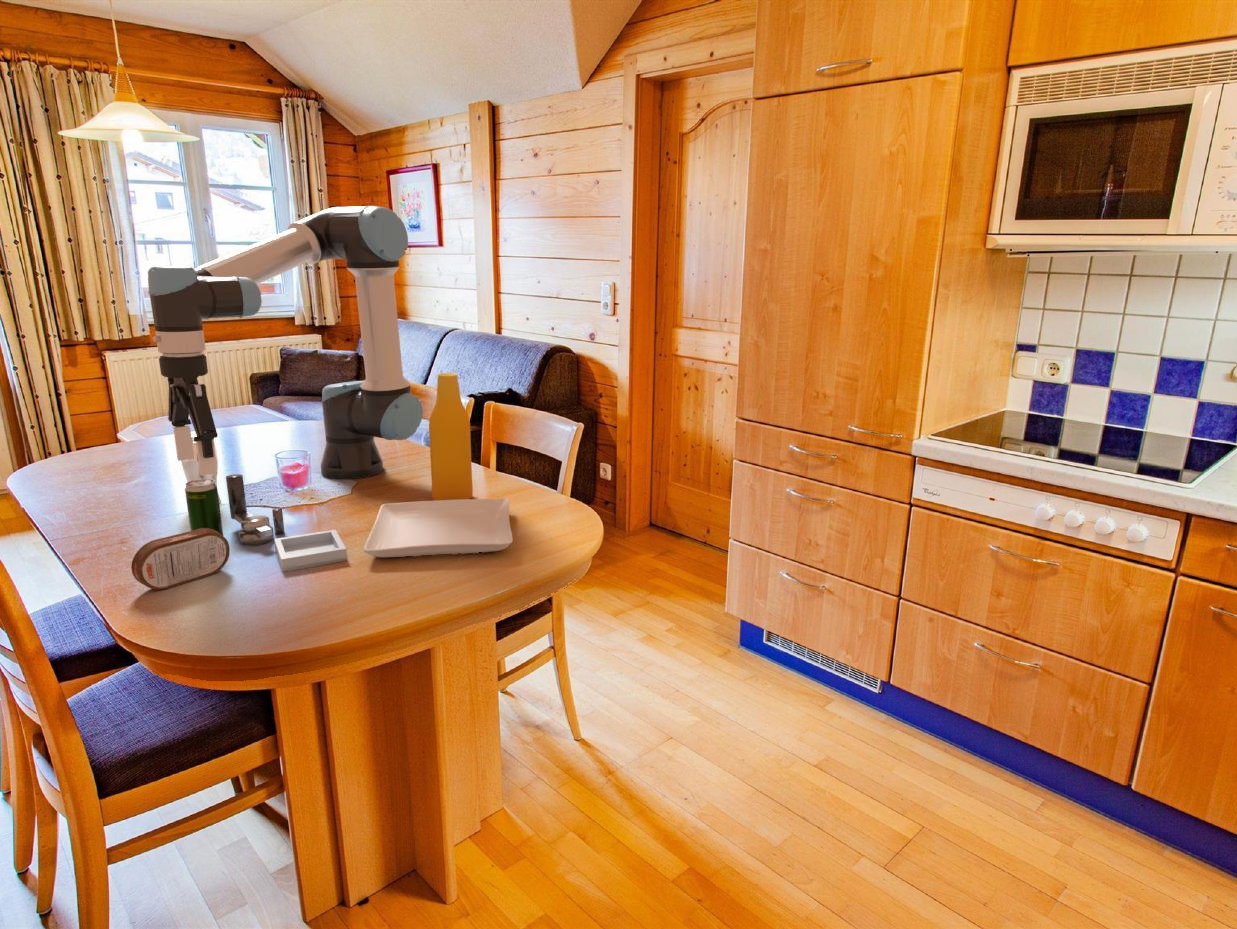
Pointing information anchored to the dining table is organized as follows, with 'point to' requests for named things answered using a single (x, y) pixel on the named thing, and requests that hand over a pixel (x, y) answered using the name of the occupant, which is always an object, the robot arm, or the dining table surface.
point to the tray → (310, 550)
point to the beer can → (203, 505)
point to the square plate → (440, 528)
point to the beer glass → (197, 467)
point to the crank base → (255, 539)
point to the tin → (180, 558)
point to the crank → (240, 511)
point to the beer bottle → (450, 443)
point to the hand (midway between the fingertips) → (197, 466)
